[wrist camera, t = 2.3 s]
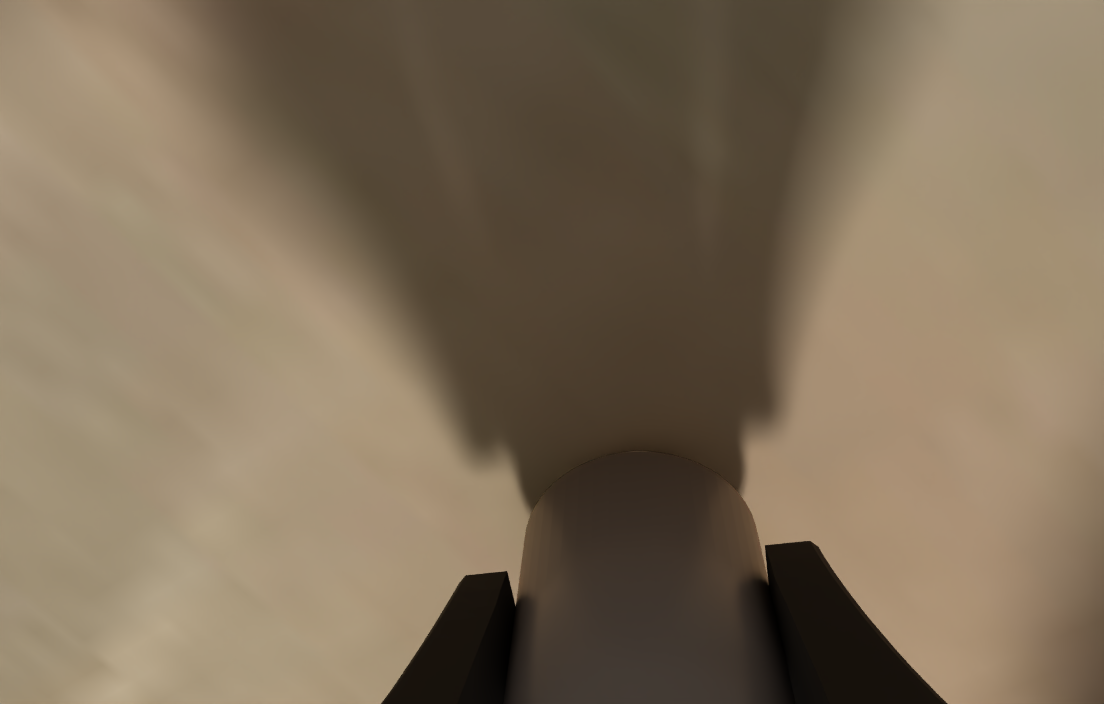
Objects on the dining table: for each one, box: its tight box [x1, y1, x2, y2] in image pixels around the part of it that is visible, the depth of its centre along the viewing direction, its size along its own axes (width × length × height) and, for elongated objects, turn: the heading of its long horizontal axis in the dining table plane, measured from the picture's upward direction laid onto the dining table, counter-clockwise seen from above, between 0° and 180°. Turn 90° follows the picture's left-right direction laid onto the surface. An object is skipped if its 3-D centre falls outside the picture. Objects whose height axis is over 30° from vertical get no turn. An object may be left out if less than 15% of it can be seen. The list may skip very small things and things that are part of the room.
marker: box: [503, 451, 796, 704], centre depth 12 cm, size 4×4×8 cm
